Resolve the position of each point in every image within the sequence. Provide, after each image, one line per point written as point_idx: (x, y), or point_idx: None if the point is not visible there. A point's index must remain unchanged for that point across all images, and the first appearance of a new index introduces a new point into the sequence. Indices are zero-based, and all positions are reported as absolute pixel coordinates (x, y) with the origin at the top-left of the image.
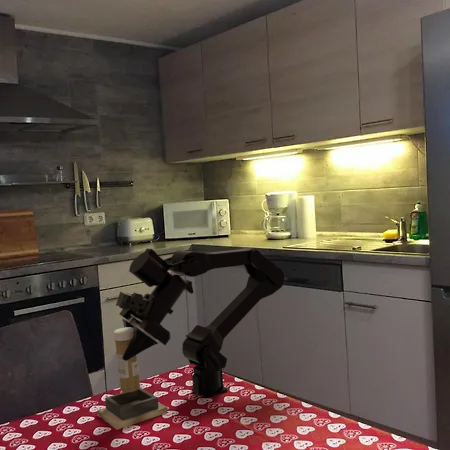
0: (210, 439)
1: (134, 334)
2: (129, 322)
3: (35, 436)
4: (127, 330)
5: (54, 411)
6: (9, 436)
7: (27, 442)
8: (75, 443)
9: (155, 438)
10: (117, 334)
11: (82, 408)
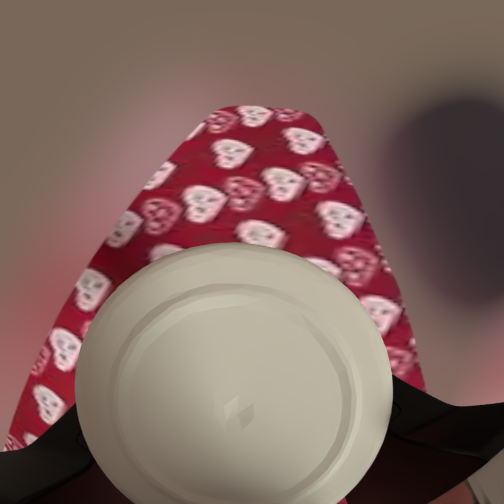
0: (26, 439)
1: (60, 466)
2: (465, 486)
3: (225, 142)
4: (146, 447)
5: (341, 186)
6: (253, 111)
7: (206, 131)
8: (140, 203)
9: (64, 361)
10: (132, 277)
11: (333, 243)
